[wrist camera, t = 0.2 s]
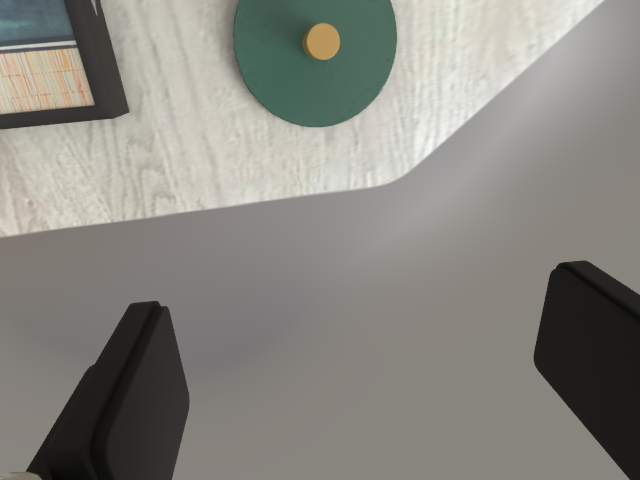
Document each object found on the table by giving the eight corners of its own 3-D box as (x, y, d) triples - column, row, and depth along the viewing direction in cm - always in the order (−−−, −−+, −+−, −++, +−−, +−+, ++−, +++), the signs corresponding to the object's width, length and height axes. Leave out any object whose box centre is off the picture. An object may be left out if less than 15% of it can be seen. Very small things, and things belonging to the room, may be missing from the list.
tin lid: (223, -49, 32) (212, -72, 26) (395, -55, 33) (421, -79, 27) (245, 130, 38) (240, 143, 32) (391, 120, 39) (412, 131, 33)
